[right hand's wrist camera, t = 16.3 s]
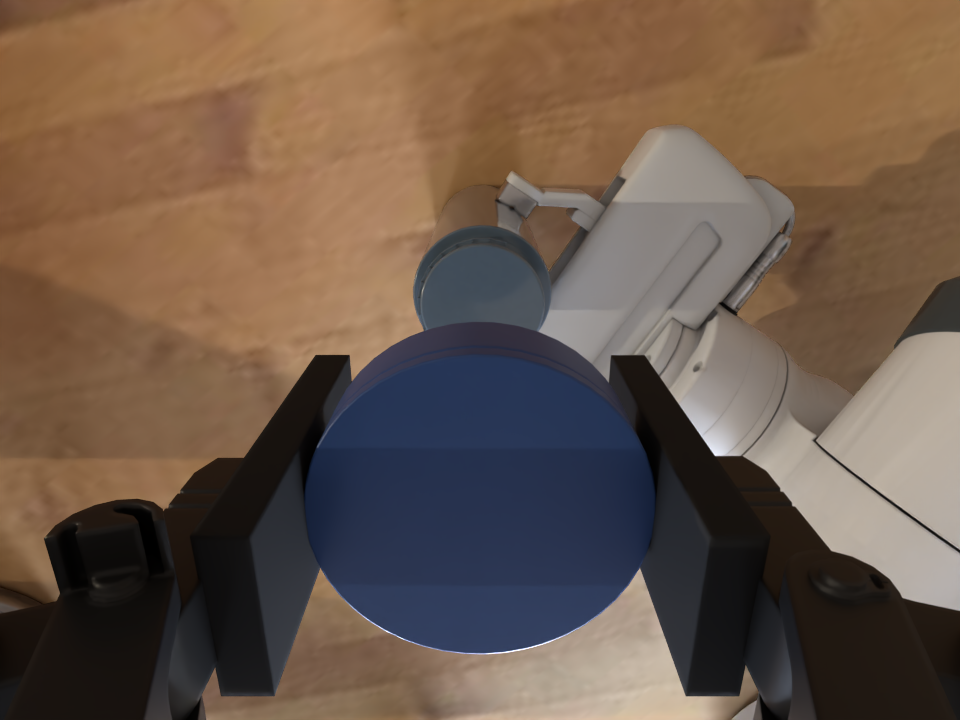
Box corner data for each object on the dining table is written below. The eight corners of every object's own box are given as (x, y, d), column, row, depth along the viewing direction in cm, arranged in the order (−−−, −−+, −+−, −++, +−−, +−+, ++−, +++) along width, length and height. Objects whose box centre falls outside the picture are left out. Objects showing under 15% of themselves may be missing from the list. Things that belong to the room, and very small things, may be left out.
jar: (463, 168, 36) (450, 204, 21) (542, 211, 37) (584, 277, 22) (423, 247, 38) (384, 334, 23) (499, 287, 39) (510, 397, 24)
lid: (366, 606, 13) (350, 674, 12) (290, 348, 11) (258, 388, 10) (644, 568, 13) (668, 632, 11) (618, 294, 11) (642, 326, 9)
